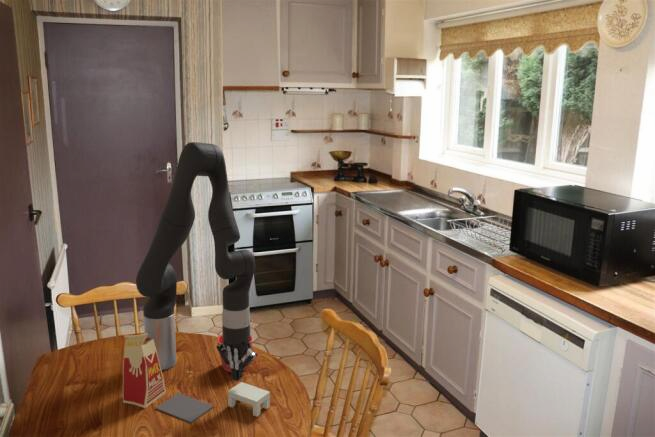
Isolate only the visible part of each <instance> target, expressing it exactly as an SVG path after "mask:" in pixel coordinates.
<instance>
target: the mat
mask: <svg viewBox="0 0 655 437" xmlns="http://www.w3.org/2000/svg"><path fill="white" fill-rule="evenodd" d="M214 407H215V406H214V405H212V404H210V403H208V402H204V401H202V400H199V399H196V398H193V397H191V396H188V395H185V394H183V393H179V392H178V393H176V394H175V395H173V396H172V397H169V399H167V400H165V401H164V402H161V404H158V405H157V406H156V407H154V408H155V409H156V410H157V411H160V412H162V413H164V414H167V415H170V416H172V417H175V418H177V419H180V420H181V421H184V422H187V423H190V424H192V423H193V422H196V420H198V419H199V418H200V417H202V416H203V415H205V414H206V413H208V412H209V411H210V410H212V409H213V408H214Z"/></svg>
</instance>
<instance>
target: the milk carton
mask: <svg viewBox="0 0 655 437" xmlns="http://www.w3.org/2000/svg"><path fill="white" fill-rule="evenodd" d="M147 335H148V333H146V334H145V333H142V334H137V335H124V337H125V338H126V340H125V345H124V352H123V366H122V368H123V369H122V371H123V372H122V403H123V404H128V405H129V404H130V405H134V406H138V407H141V408H144V409H146V408H148V407H149V406H150V405H152V404H153V403H154V402H156V401H157V400H158V399H160V397H162V396H164V395H165V394H166V393H167V390H166V385H165V380H164V375H163V370H161V366H160V362H159V358H158V354H157V351H156V347H155V343H154V340H153V338H147Z"/></svg>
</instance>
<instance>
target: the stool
mask: <svg viewBox="0 0 655 437" xmlns="http://www.w3.org/2000/svg"><path fill="white" fill-rule="evenodd" d="M270 398H271V391H268V390H266V389H263V388H260V387H257V386H254V385H251V384H248V383H246V382H243V381H240V382H239V383H238V384H236V385H235V386H233V387H232V388H230V389H229V390H228V391H227V401H228V402H227V405H228V406H227V407H230V408H234V407H236V400H237V401H239V402H242V403H245V404H247V405H251V406H252V416H254V417H257V418H258V417H259V416H260V415H261V405H262V409H266V410H267V409H269V408H270V407H271V405H270V404H271V403H270V401H271V399H270Z"/></svg>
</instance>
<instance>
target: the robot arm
mask: <svg viewBox="0 0 655 437" xmlns="http://www.w3.org/2000/svg"><path fill="white" fill-rule="evenodd" d="M226 165H227V164H226V159H225V156H224V153H223V150H222V149H221V147H219V145H217V144H214V143H206V142H197V141H195V142H194V141H191V142H187V144H185V145H184V146H183V148H182V150H181V152H180V155H179V158H178V162H177V165H176V170H175V174H174V179H173V182H172V186H171V188H170V191H169V195H168V197H167V201H166V203H165V206H164V208H163V209H162V210H163V211H162V213H161V216H160V219H159V221H158V224H157V227H156V231H155V234H154V235H153V239H152V241H151V244H150V246H149V249H148V252H147V254H146V256H145V258H144V260H143V261H142V264H141V265H140V267H139V269H138V271H137V273H136V277H135V286H136V290H137V291H138V293H139V294H140V295H141V296H143V297H145V298H148V300H147V302H145V304H144V305H143V310H142V312H143V326H144V328H143V329H144V334H146V333H148V335H147V338H153V340H154V343H155V347H156V351H157V354H158V358H159V362H160V366H161V371H165V370H169V369H172V368H174V366H176V364H177V344H176V343H177V341H176V324H175V323H176V322H175V320H176V319H175V306H176V305H177V296H178V294H177V293H178V291H177V289H178V287H177V286H178V283H177V274H176V271H175V269H174V267H173V266H172V264H170V261H171V260H172V259H173V257H174V256H175V255H176V254H177V252H178V251H179V250H180V248H181V247H183V245H184V244H185V242H186V241H187V239H188V238H189V235H190V233H191V230H192V229H193V226H194V223H195V219H196V212H195V210H196V209H195V207H194V206H195V205H194V203H193V199H192V188H193V184H194V182H195V180H196V179H197V177H208V179H209V182H210V185H211V188H212V189H211V190H212V193H211V199H210V202H209V207H208V214H207V217H208V223H209V227H210V231H211V234H212V238H213V242H214V269H215V272H216V274H217V275H218V277H219V278H221V279H222V280H231V279H235V280H234V281H233V282H230V283H229V284H227V285H226V286H224V287H223V288H222V314H221V315H222V316H221V325H222V335H223V339H224V340H223V343H221V344H219V345H218V344H217V345H216V350H217V351H218V352H219V356H220V355H221V356H222V358H223V360H224V362H225V363H226V364H227V365H228V364H229V365H230V367H231V372H230V374H231V378H232V381H235V382H239V381H241V380H242V378H244V377H243V376H244V375H243V373H244V372H243V371H244V370H243V369H244V368H245V367H247V366H250V364H251V363H253V361H254V360H255V359H256V358H257V356H258V352H256V351H253V350H252V347H251V346H250V343H249V339H250V335H251V311H250V290H251V286H252V282H253V278H254V274H255V271H256V259H255V256H254V254H253V253H252V251H250V250H248V249H239V250H234V251H233V250H232V251H229V246H232V245H234V244H236V243H238V242H239V240H240V239H241V234H240V229H239V226H238V224H237V220H236V216H235V214H234V210H233V205H232V202H231V201H232V200H231V196H230V188H229V180H228V179H229V178H228V173H227V166H226ZM250 348H251V349H250ZM246 354H247V356H246V358H247V359H246V360H245V361H244V359H245V355H246ZM226 355H227V356H228V358H227V357H226ZM247 368H248V367H247Z"/></svg>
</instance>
